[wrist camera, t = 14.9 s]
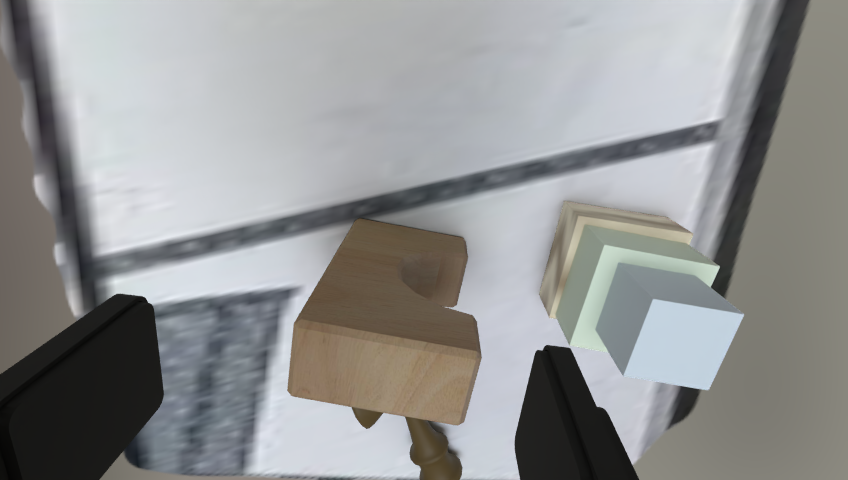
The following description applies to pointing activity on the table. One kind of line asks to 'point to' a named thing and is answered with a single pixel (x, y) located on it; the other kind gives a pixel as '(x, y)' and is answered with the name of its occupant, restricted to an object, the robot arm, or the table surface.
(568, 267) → the lower tower block
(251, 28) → the table surface
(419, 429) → the kendama
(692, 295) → the grey-blue cube
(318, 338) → the decorative block
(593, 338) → the upper tower block
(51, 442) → the robot arm
